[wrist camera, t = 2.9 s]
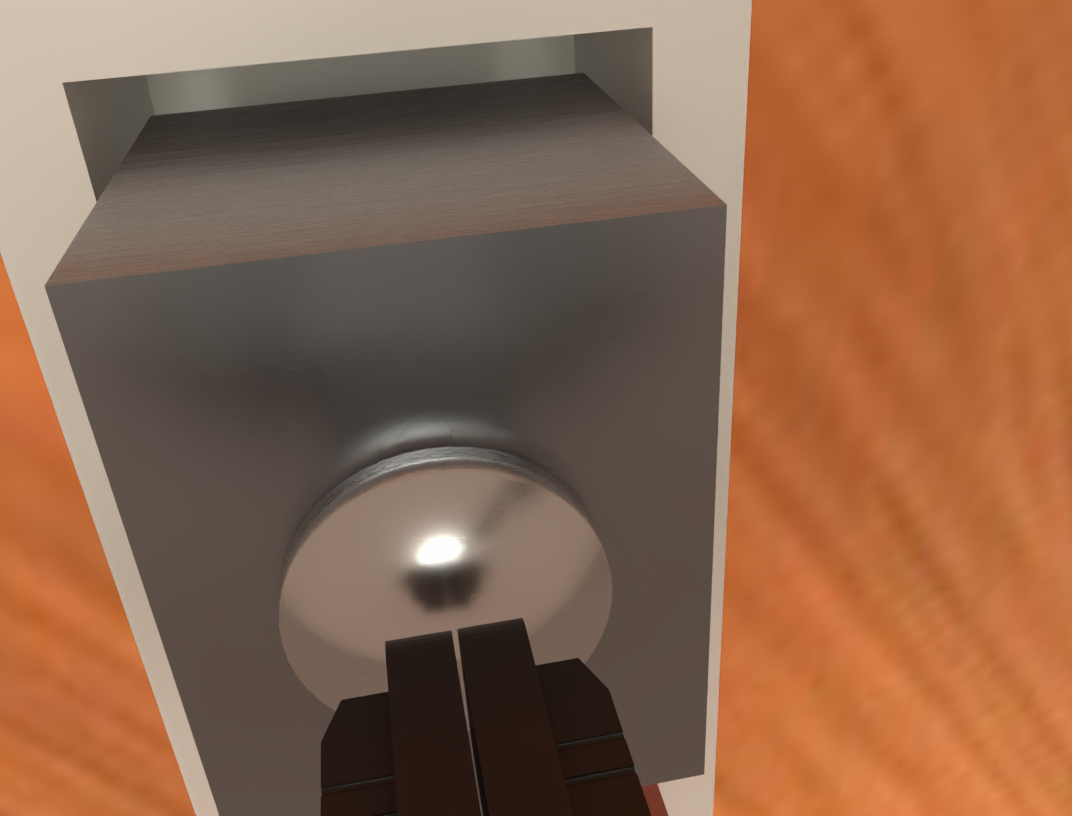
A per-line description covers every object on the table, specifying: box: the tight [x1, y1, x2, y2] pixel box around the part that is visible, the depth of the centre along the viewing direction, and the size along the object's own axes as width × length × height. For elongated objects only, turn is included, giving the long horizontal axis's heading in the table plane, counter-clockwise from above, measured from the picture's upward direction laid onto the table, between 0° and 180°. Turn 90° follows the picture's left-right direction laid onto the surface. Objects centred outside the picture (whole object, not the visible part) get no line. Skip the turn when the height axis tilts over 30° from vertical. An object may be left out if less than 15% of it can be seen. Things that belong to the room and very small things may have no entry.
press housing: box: [0, 0, 752, 816], centre depth 24 cm, size 12×26×7 cm, turn 4°
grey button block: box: [45, 73, 727, 816], centre depth 15 cm, size 7×9×8 cm
